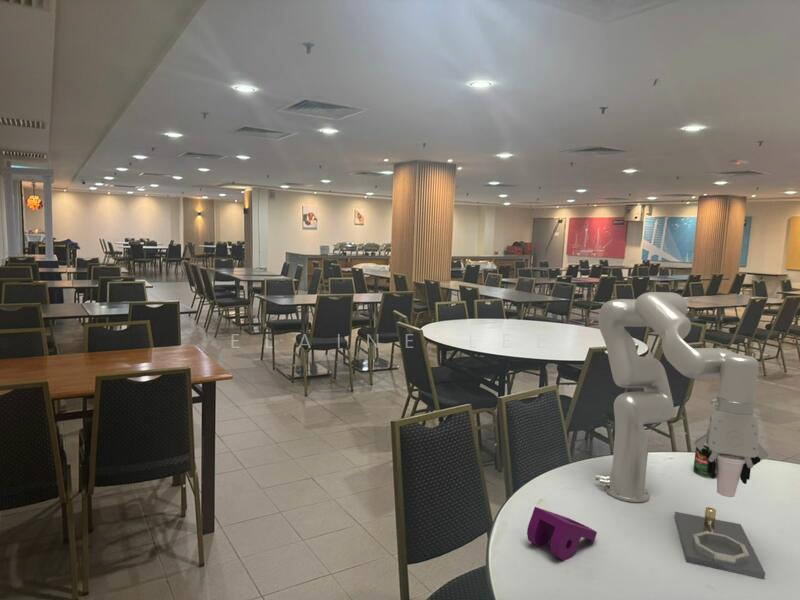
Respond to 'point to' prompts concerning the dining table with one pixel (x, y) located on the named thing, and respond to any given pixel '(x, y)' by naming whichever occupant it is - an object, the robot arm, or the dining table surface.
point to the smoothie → (728, 473)
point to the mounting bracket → (557, 532)
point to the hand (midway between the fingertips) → (727, 478)
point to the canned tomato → (702, 463)
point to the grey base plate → (717, 544)
